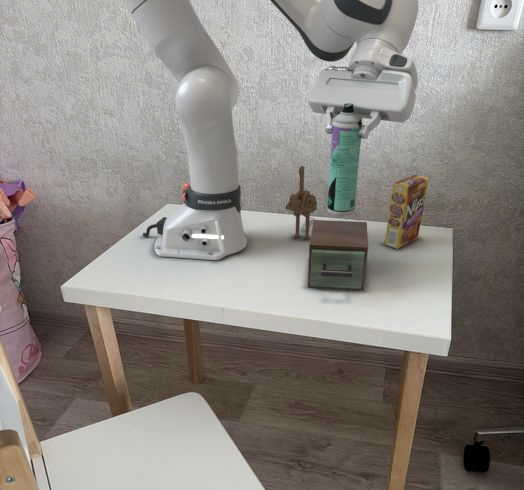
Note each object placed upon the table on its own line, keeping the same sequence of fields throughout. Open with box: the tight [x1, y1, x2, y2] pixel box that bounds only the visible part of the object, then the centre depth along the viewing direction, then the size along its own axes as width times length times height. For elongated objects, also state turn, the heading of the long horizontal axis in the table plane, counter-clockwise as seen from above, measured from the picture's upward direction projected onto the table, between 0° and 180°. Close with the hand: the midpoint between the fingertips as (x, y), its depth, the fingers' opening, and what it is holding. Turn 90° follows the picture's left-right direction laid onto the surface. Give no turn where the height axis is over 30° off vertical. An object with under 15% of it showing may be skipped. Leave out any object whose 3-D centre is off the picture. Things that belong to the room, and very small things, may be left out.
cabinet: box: [307, 219, 369, 291], centre depth 114 cm, size 14×12×10 cm
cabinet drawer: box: [310, 249, 365, 289], centre depth 110 cm, size 17×10×8 cm, turn 172°
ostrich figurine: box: [285, 165, 318, 241], centre depth 132 cm, size 17×7×18 cm, turn 163°
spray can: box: [326, 103, 363, 216], centre depth 102 cm, size 6×6×20 cm
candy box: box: [384, 174, 430, 250], centre depth 126 cm, size 9×4×15 cm, turn 134°
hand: (345, 134), depth 99 cm, fingers closed on spray can, 5 cm apart
